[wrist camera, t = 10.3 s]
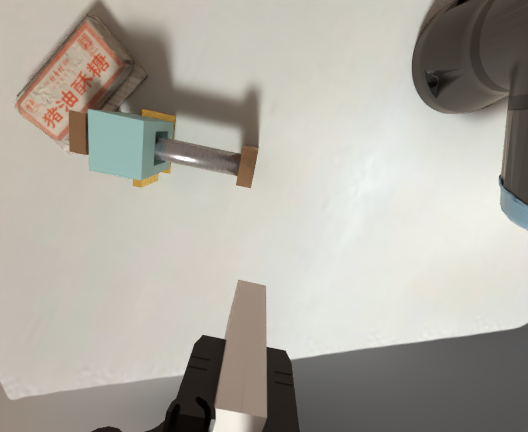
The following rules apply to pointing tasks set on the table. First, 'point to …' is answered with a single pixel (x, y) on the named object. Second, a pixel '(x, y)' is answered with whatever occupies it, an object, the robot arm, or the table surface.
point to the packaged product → (79, 80)
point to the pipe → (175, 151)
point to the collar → (125, 143)
